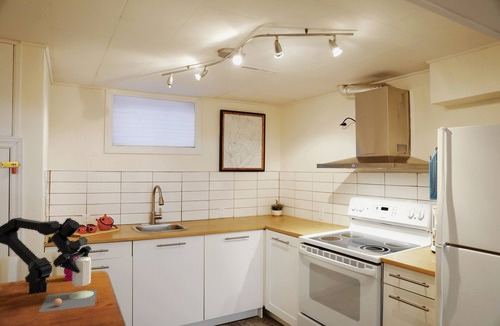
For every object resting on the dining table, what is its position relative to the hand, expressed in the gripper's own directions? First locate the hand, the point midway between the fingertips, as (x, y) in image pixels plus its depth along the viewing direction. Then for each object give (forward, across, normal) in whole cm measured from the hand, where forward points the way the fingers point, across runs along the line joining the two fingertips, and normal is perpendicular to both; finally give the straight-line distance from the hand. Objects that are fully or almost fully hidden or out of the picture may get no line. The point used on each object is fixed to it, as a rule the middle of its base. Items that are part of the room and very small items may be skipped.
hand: (84, 270), depth 152 cm
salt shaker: (+3, 0, +5) cm, 6 cm away
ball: (+5, -13, +9) cm, 16 cm away
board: (+7, -6, +10) cm, 14 cm away
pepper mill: (-8, +22, +25) cm, 34 cm away
